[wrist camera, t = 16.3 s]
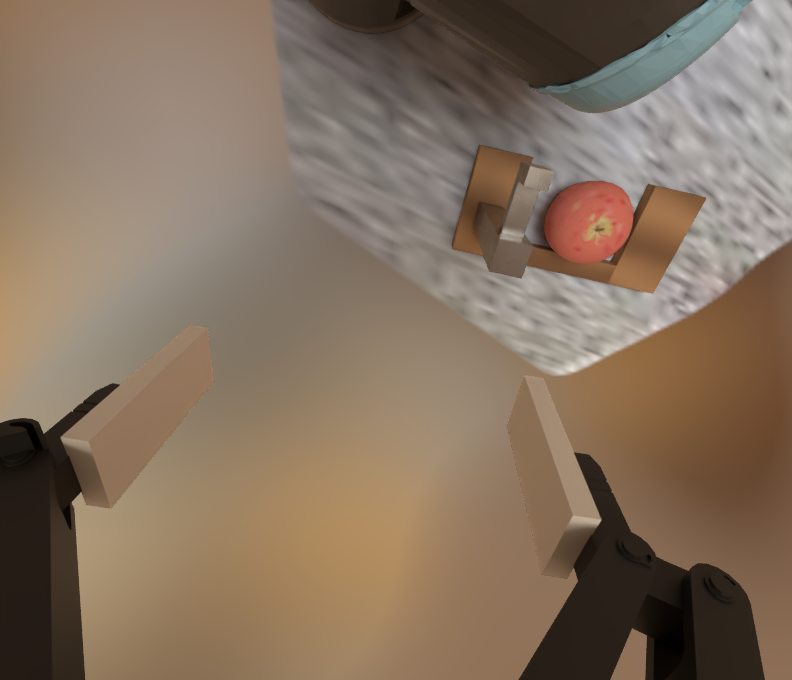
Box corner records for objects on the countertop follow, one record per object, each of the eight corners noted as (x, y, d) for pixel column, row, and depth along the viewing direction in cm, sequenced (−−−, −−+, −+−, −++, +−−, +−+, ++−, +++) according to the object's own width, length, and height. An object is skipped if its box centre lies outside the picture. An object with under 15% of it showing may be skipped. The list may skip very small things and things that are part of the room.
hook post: (494, 149, 38) (524, 165, 26) (519, 154, 38) (561, 173, 26) (472, 225, 41) (489, 271, 29) (495, 230, 41) (521, 278, 29)
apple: (545, 172, 40) (568, 184, 33) (621, 176, 40) (662, 190, 33) (529, 247, 43) (548, 272, 37) (599, 251, 43) (632, 277, 36)
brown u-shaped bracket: (479, 144, 39) (481, 145, 38) (697, 195, 40) (706, 198, 38) (452, 244, 44) (452, 248, 43) (646, 288, 45) (652, 293, 43)
